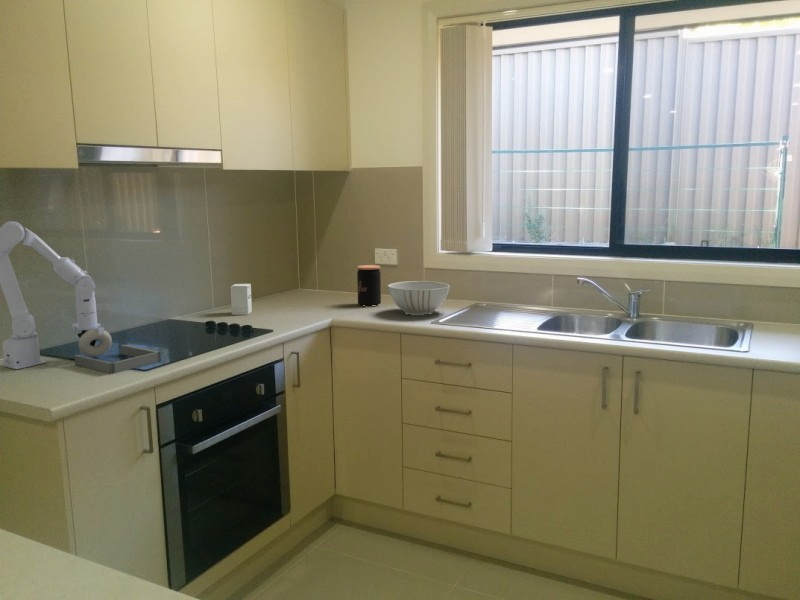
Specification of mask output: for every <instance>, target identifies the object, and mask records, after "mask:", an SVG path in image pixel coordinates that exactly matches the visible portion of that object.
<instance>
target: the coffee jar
mask: <svg viewBox="0 0 800 600" xmlns="http://www.w3.org/2000/svg"><path fill="white" fill-rule="evenodd" d="M356 269H357V270H358V271H357V275H356V276H357V277H356V278H357V281H356V282H357V304H358V305H359V306H360V305H365V306H372V305H378V304H380V305H381V302H382V293H381V292H382V289H381V288H382V287H381V282H382V281H381V276H382V275H381V270H380V269H381V265H377V264H366V265H365V264H362V265H358V266H356Z"/></svg>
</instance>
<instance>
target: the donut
mask: <svg viewBox="0 0 800 600" xmlns="http://www.w3.org/2000/svg"><path fill="white" fill-rule="evenodd" d="M95 339H97V340H99V341H100V342H99V343H98V344H97V345H95V346H91V345H90V342H91V341H93V340H95ZM112 342H113V340H112V335H111V334H110V333H109V332H108V331H107V330H105V329H104V334H100V335H98V332H97V331H96V330H89V331H87V332H85V333H84V334H83V335H82V336H81V338H79V340H78V343H77V345H78V349H79V351H80V353H82V354H83V356H86V357H99V356H101V355H103V354H106V352H108V351H109V350H110V348H111V346H112Z"/></svg>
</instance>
